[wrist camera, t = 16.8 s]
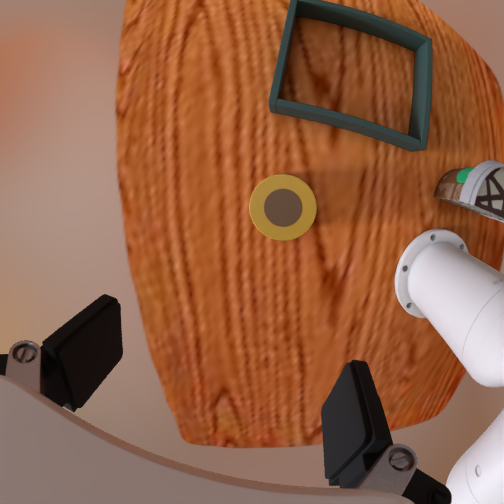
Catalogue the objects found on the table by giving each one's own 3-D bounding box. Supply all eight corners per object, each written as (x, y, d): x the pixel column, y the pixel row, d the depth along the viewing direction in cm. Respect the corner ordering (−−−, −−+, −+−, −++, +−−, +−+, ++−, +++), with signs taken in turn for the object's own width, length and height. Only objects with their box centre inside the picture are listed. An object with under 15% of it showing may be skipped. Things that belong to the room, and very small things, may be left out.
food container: (493, 176, 25) (538, 183, 16) (486, 217, 27) (530, 233, 18) (431, 147, 26) (478, 142, 17) (424, 193, 28) (470, 203, 19)
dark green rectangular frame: (419, 49, 22) (432, 39, 19) (411, 151, 27) (426, 149, 23) (291, 11, 23) (291, -6, 20) (270, 112, 28) (268, 104, 24)
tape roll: (317, 181, 30) (323, 182, 25) (305, 236, 32) (308, 247, 27) (260, 168, 30) (256, 167, 25) (250, 224, 32) (243, 233, 27)
